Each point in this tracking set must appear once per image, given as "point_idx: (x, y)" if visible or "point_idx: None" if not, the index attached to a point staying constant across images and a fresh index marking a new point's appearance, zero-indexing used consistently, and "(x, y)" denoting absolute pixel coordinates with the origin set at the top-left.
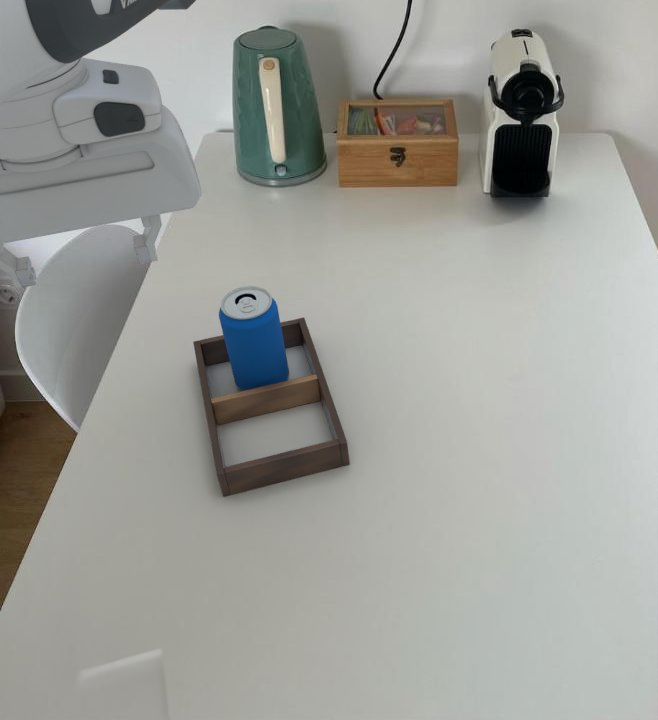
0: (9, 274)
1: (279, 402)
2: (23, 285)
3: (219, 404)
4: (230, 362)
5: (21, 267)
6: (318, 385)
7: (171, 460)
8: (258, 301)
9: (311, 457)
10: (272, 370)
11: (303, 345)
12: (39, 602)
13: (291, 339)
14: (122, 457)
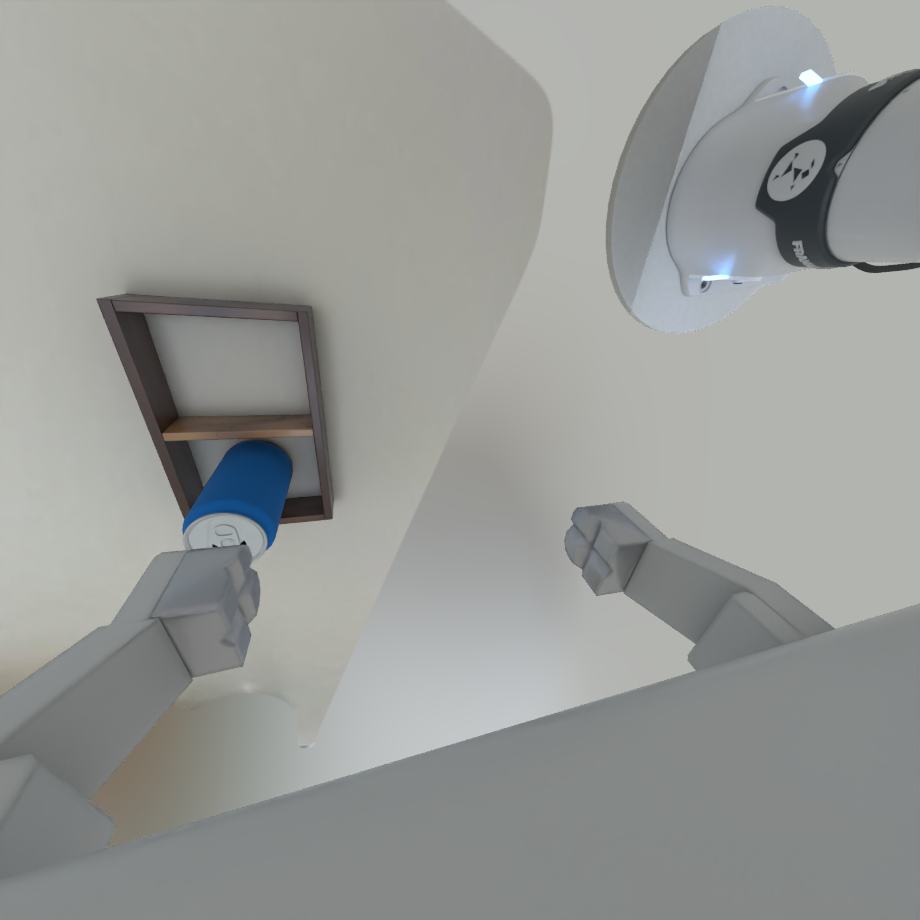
0: (661, 532)
1: (232, 420)
2: (608, 505)
3: (304, 427)
4: (285, 480)
5: (631, 553)
6: (167, 427)
7: (369, 381)
8: (208, 541)
9: (169, 301)
10: (230, 458)
11: None
12: (510, 241)
13: None
14: (417, 401)
